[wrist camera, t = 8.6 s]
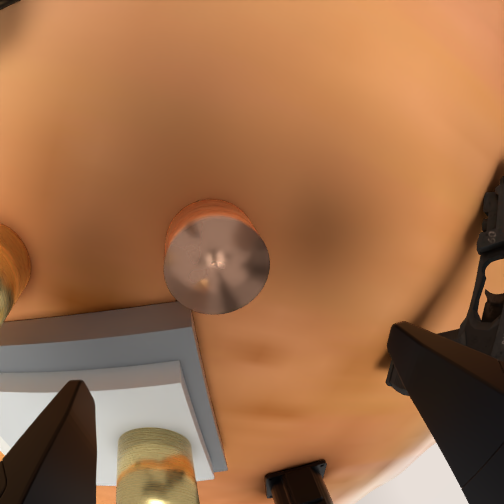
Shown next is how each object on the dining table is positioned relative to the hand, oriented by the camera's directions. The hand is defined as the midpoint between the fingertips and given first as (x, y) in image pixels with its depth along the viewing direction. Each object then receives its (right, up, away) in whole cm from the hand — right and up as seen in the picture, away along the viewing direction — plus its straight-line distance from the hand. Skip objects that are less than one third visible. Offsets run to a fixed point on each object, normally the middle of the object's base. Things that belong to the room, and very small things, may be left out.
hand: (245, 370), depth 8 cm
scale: (-12, -8, +10) cm, 17 cm away
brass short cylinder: (-5, -8, +8) cm, 13 cm away
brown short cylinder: (-2, +4, +8) cm, 9 cm away
